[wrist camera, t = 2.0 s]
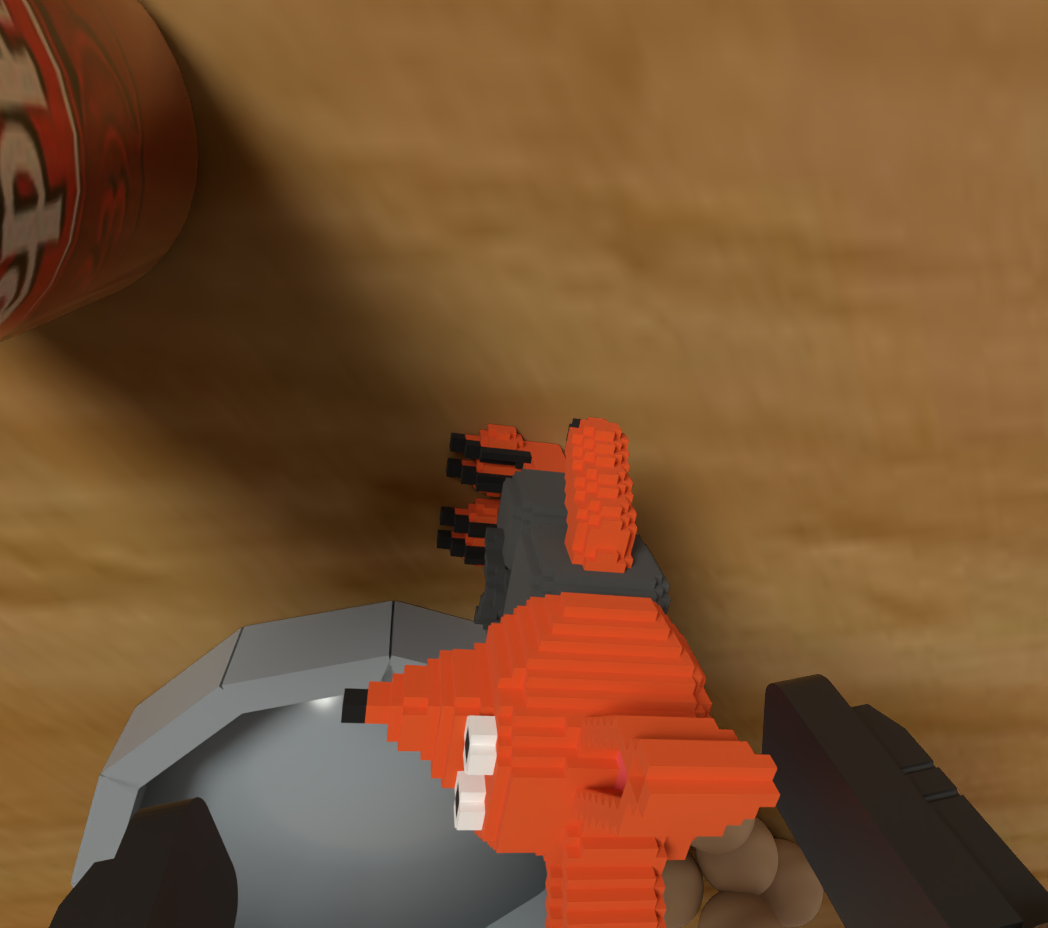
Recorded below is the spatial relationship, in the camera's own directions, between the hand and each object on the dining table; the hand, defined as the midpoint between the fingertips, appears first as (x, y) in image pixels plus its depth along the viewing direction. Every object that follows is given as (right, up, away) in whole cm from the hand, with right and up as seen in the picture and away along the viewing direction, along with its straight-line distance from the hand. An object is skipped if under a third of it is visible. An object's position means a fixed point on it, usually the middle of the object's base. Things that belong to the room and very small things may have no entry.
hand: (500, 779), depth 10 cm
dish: (-5, -7, +13) cm, 16 cm away
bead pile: (+8, -9, +16) cm, 19 cm away
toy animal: (-1, +4, +9) cm, 10 cm away
